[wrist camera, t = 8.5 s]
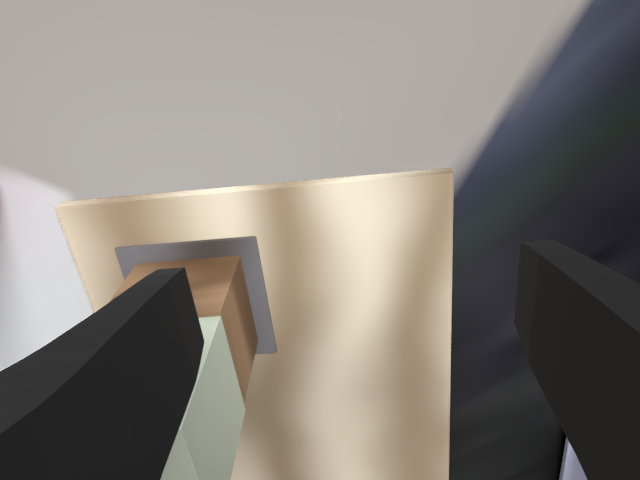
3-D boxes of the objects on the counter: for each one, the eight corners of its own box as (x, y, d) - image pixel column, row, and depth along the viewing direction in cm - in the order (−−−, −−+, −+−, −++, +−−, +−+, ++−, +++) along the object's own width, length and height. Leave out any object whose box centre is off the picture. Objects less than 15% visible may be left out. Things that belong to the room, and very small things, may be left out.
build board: (450, 167, 20) (454, 175, 19) (446, 498, 29) (448, 512, 28) (61, 201, 21) (52, 209, 21) (174, 508, 30) (170, 521, 30)
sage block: (221, 315, 18) (181, 429, 13) (245, 409, 20) (218, 535, 15) (97, 326, 18) (19, 440, 14) (134, 417, 20) (77, 541, 16)
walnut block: (240, 255, 21) (220, 311, 18) (257, 341, 23) (243, 406, 20) (136, 263, 22) (96, 320, 18) (162, 347, 24) (131, 412, 20)
